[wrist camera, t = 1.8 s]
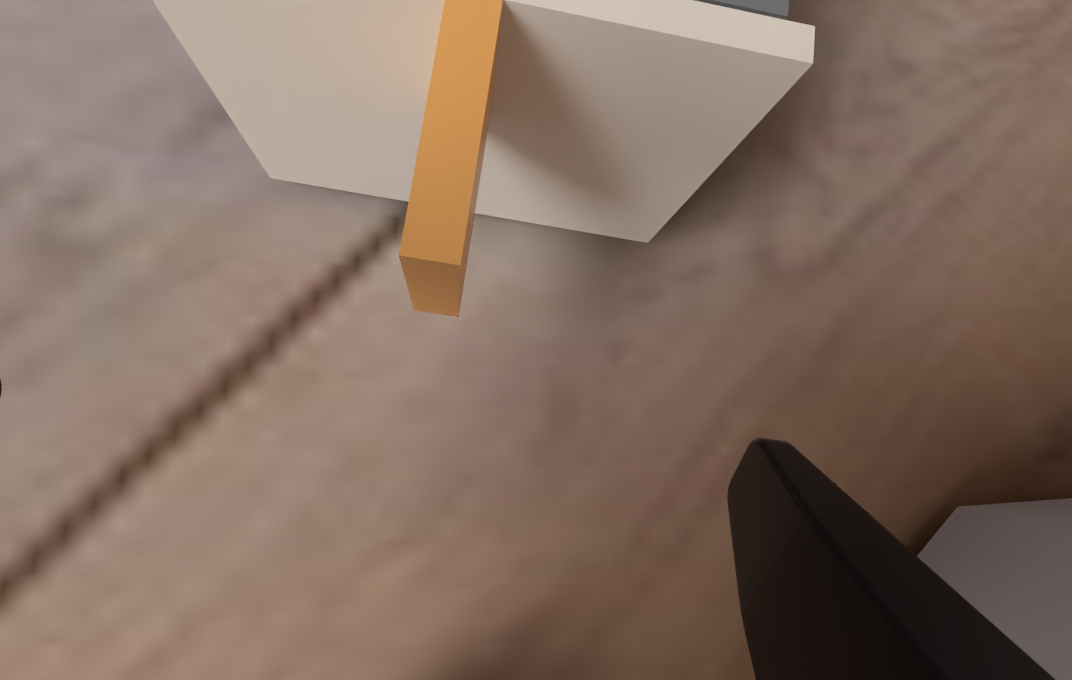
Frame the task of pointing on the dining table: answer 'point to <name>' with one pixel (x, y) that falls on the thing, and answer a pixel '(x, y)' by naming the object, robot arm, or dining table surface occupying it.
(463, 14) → the white drawer unit
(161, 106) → the dining table surface
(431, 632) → the dining table surface
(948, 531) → the bottle
